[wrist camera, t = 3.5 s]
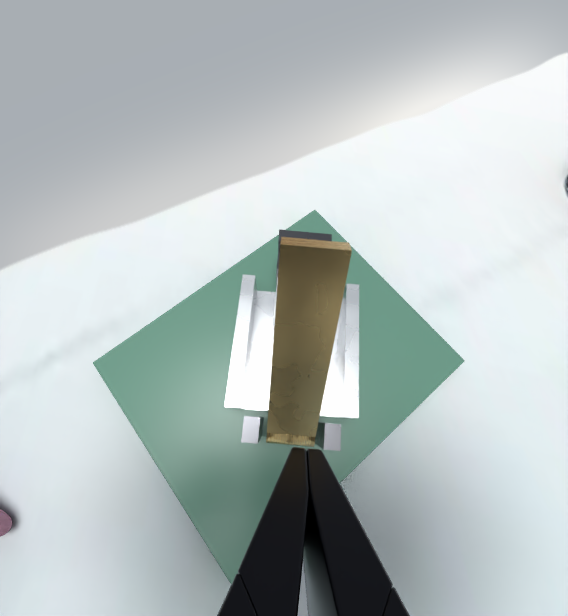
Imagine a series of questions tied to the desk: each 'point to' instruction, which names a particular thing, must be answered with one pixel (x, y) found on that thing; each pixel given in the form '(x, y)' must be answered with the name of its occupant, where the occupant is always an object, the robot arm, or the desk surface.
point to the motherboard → (229, 421)
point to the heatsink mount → (259, 347)
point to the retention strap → (304, 335)
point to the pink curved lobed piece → (4, 523)
